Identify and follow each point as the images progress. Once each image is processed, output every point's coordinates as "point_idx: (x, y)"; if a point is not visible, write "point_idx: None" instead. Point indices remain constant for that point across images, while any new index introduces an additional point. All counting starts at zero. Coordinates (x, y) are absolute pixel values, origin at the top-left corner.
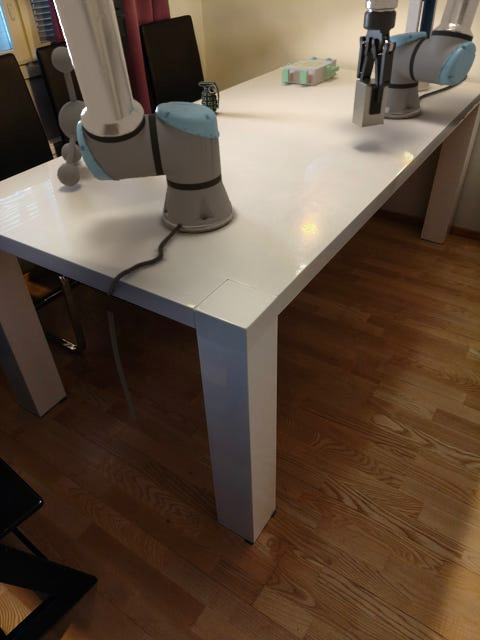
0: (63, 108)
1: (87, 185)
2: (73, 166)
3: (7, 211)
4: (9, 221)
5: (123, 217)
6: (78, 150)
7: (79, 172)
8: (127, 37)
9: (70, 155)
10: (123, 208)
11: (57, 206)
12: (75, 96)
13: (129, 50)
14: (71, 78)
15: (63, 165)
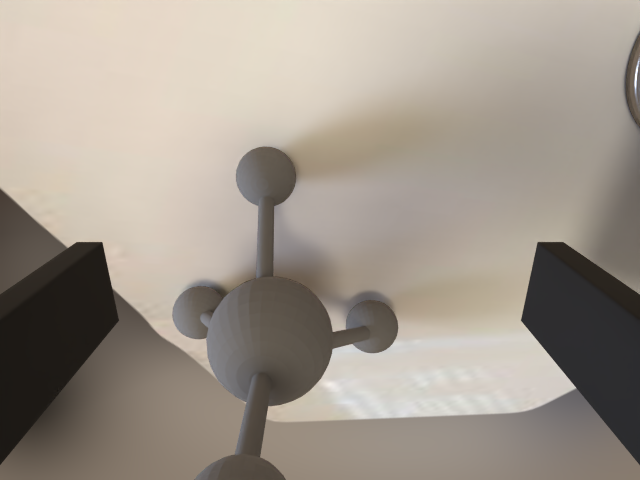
0: (282, 402)
1: (370, 279)
2: (381, 324)
3: (427, 413)
4: (475, 409)
5: (592, 225)
6: (210, 300)
7: (376, 305)
8: (635, 292)
9: (359, 337)
10: (547, 219)
11: (455, 338)
12: (263, 385)
13: (569, 249)
14: (250, 435)
15: (377, 346)
